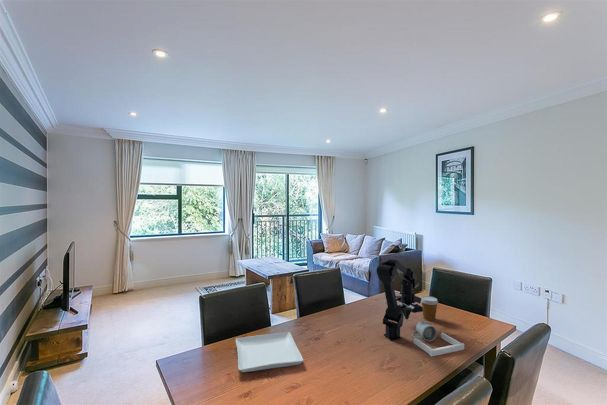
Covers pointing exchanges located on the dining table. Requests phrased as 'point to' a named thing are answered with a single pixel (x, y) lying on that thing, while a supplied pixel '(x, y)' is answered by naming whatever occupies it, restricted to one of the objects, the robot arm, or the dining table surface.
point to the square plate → (267, 352)
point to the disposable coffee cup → (429, 307)
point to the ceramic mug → (425, 331)
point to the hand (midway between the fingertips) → (406, 319)
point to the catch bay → (443, 350)
